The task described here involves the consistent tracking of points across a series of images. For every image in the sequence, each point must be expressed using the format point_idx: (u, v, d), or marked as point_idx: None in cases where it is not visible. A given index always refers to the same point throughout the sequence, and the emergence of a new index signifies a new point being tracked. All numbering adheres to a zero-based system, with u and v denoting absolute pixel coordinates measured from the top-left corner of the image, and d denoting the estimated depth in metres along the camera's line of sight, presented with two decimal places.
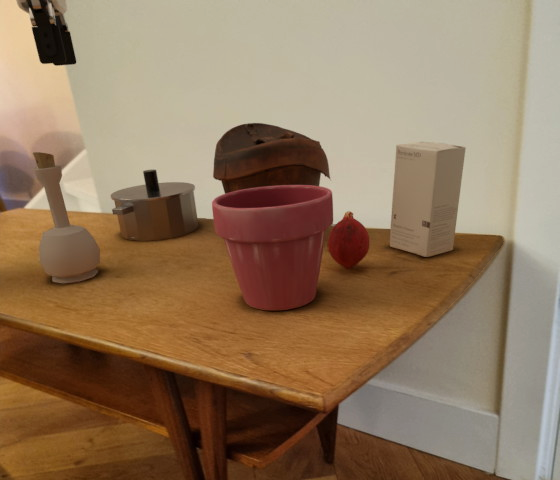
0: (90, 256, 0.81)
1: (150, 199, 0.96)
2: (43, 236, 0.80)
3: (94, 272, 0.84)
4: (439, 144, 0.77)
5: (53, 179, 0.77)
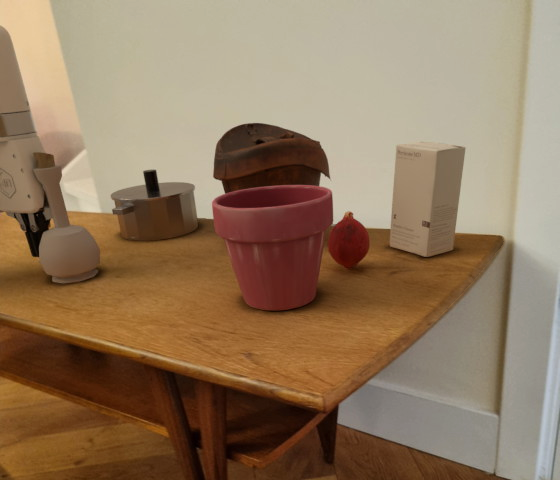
0: (90, 256, 0.81)
1: (150, 199, 0.96)
2: (43, 236, 0.80)
3: (94, 272, 0.84)
4: (439, 144, 0.77)
5: (53, 179, 0.77)
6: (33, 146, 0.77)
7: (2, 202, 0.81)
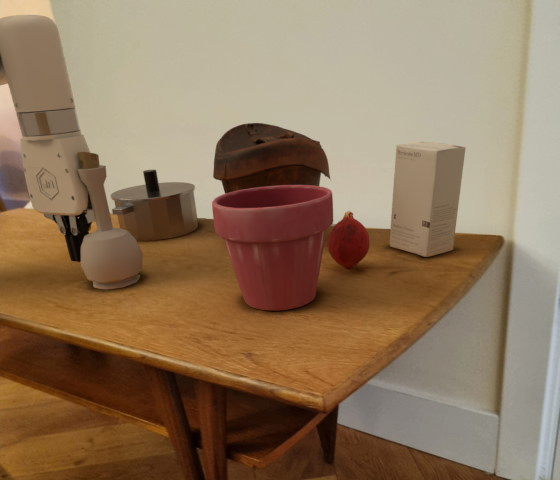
0: (134, 261, 0.78)
1: (150, 199, 0.96)
2: (86, 240, 0.76)
3: (136, 277, 0.81)
4: (439, 144, 0.77)
5: (98, 180, 0.73)
6: (78, 145, 0.73)
7: (42, 203, 0.77)
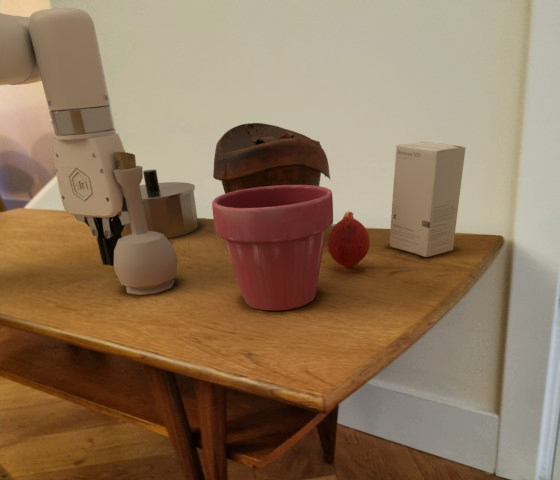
0: (170, 265, 0.74)
1: (150, 199, 0.96)
2: (120, 243, 0.73)
3: (171, 282, 0.78)
4: (439, 144, 0.77)
5: (134, 181, 0.70)
6: (114, 144, 0.70)
7: (74, 205, 0.74)
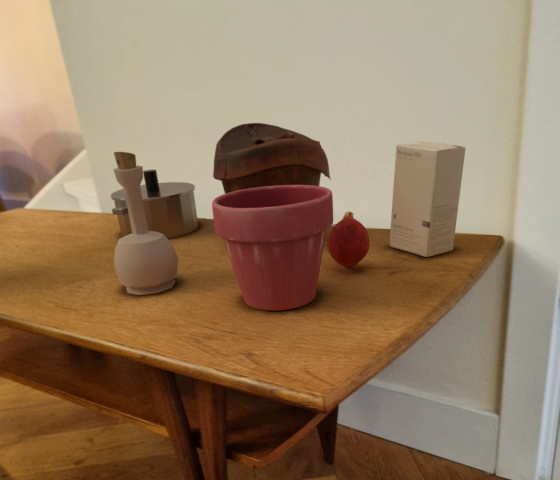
0: (170, 265, 0.74)
1: (150, 199, 0.96)
2: (120, 243, 0.73)
3: (171, 282, 0.78)
4: (439, 144, 0.77)
5: (135, 181, 0.70)
6: None
7: None
